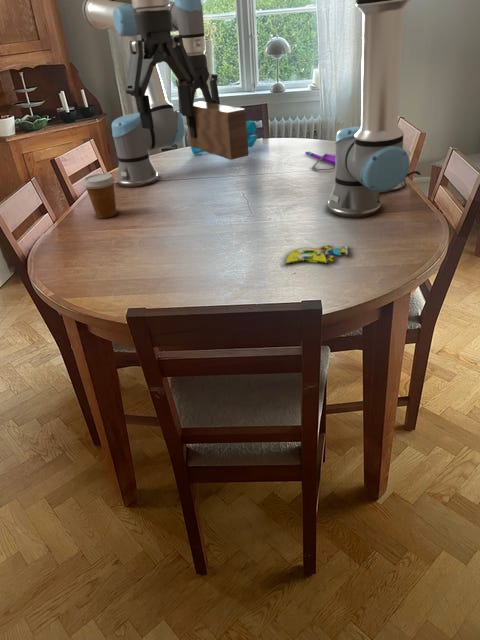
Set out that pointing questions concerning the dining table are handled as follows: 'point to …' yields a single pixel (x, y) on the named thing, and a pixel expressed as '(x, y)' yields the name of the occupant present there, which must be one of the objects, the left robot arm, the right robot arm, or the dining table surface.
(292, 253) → the toy
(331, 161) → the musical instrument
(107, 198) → the disposable coffee cup
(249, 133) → the toy
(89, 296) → the dining table surface
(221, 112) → the box
